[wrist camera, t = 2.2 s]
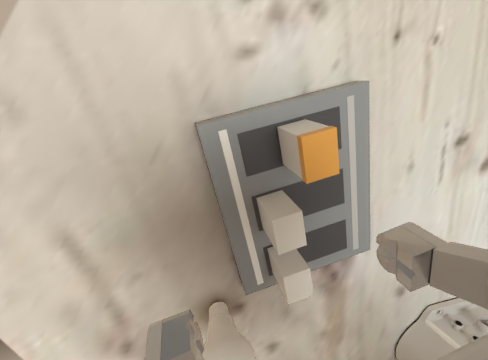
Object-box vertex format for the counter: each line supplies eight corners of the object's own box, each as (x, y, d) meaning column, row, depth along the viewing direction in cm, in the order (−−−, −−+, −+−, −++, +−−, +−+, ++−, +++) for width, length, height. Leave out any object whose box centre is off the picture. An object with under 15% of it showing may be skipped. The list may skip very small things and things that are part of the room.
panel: (356, 80, 27) (410, 80, 21) (360, 241, 36) (399, 274, 30) (195, 122, 25) (200, 136, 18) (242, 283, 33) (257, 330, 27)
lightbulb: (186, 317, 33) (189, 417, 23) (207, 281, 32) (220, 371, 22) (226, 324, 36) (244, 419, 26) (247, 292, 34) (275, 378, 24)
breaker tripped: (305, 118, 25) (336, 127, 20) (309, 156, 26) (339, 173, 22) (276, 126, 24) (301, 137, 19) (282, 164, 26) (306, 183, 21)
